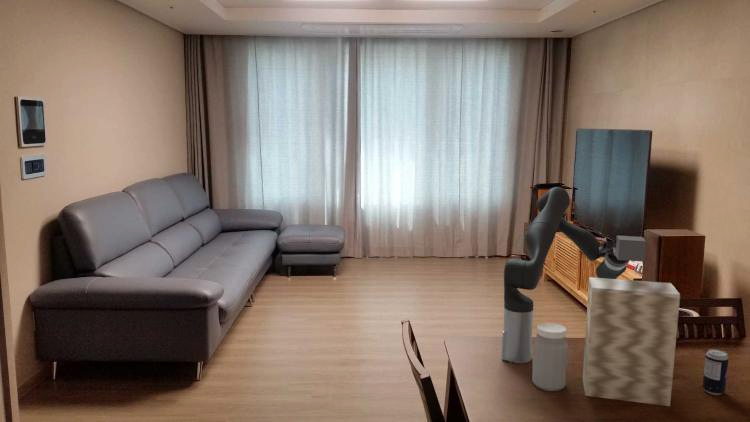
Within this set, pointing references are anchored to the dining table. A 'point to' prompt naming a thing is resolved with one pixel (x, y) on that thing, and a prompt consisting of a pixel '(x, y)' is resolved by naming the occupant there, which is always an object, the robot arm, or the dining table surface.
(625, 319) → the beige zigzag box
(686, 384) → the dining table surface
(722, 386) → the beverage can
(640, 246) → the salmon and grey blocks
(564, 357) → the jar
